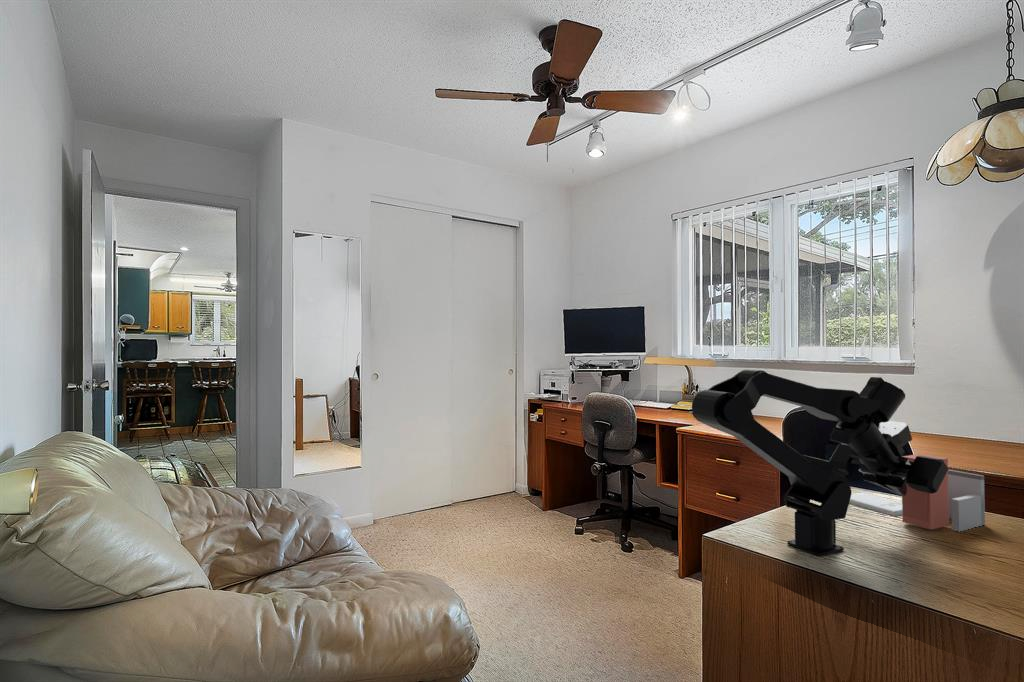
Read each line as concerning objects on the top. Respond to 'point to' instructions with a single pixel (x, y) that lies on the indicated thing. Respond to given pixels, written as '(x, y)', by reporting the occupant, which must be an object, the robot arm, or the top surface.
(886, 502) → the external hard drive
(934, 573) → the top surface
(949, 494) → the socket block
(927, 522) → the pink rectangular block
